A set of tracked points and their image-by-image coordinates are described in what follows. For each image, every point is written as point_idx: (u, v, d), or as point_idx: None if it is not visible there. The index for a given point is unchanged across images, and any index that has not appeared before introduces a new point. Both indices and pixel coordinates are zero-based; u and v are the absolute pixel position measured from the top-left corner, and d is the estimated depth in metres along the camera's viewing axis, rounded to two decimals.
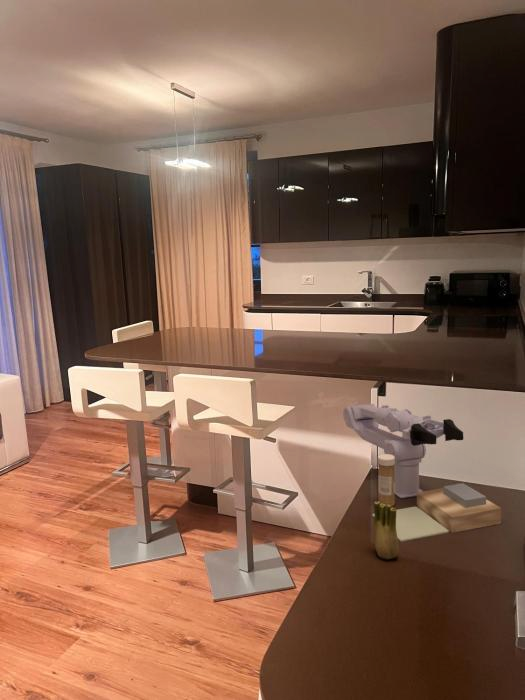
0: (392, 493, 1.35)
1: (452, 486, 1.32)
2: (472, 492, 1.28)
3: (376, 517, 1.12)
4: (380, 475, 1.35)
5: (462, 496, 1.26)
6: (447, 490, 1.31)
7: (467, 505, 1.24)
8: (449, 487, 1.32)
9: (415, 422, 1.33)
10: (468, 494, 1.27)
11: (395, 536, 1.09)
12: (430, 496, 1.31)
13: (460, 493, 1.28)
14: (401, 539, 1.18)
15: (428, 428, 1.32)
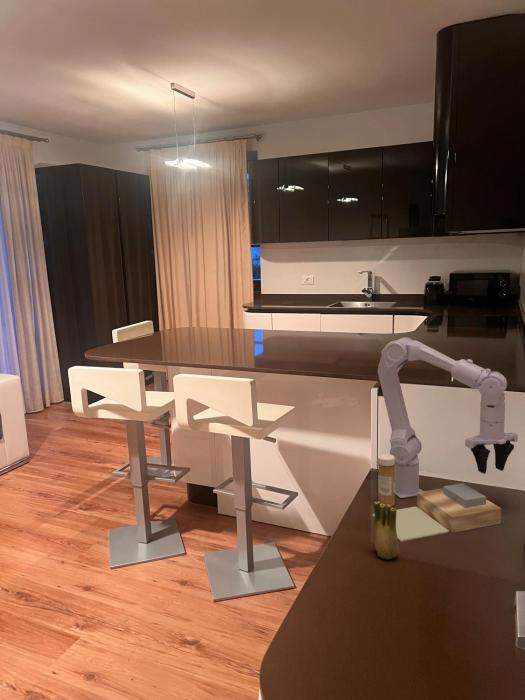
0: (392, 493, 1.35)
1: (452, 486, 1.32)
2: (472, 492, 1.28)
3: (376, 517, 1.12)
4: (380, 475, 1.35)
5: (462, 496, 1.26)
6: (447, 490, 1.31)
7: (467, 505, 1.24)
8: (449, 487, 1.32)
9: (490, 432, 1.27)
10: (468, 494, 1.27)
11: (395, 536, 1.09)
12: (430, 496, 1.31)
13: (460, 493, 1.28)
14: (401, 539, 1.18)
15: None
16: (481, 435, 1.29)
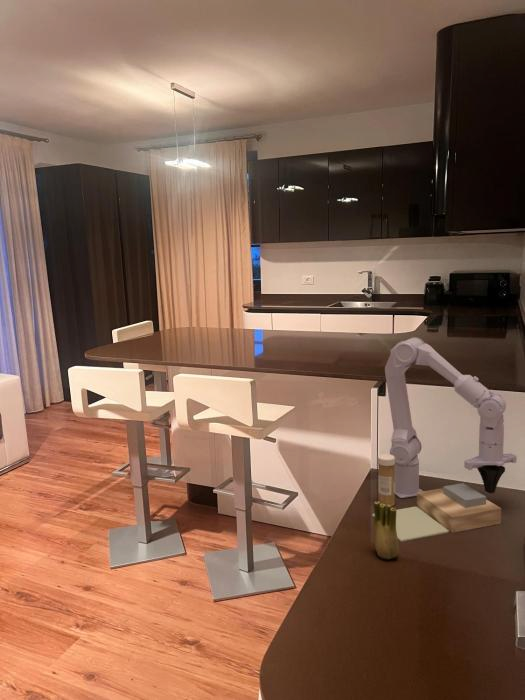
0: (392, 493, 1.35)
1: (452, 486, 1.32)
2: (472, 492, 1.28)
3: (376, 517, 1.12)
4: (380, 475, 1.35)
5: (462, 496, 1.26)
6: (447, 490, 1.31)
7: (467, 505, 1.24)
8: (449, 487, 1.32)
9: (489, 454, 1.28)
10: (468, 494, 1.27)
11: (395, 536, 1.09)
12: (430, 496, 1.31)
13: (460, 493, 1.28)
14: (401, 539, 1.18)
15: None
16: (480, 456, 1.30)
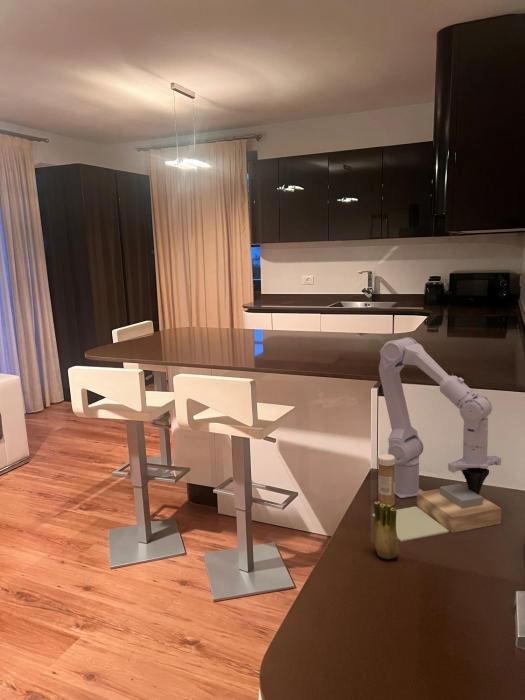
0: (392, 493, 1.35)
1: (449, 487, 1.32)
2: (469, 493, 1.28)
3: (376, 517, 1.12)
4: (380, 475, 1.35)
5: (458, 497, 1.26)
6: (444, 491, 1.31)
7: (464, 506, 1.24)
8: (446, 488, 1.32)
9: (473, 456, 1.26)
10: (465, 495, 1.27)
11: (395, 536, 1.09)
12: (430, 496, 1.31)
13: (456, 494, 1.28)
14: (401, 539, 1.18)
15: None
16: (464, 459, 1.29)
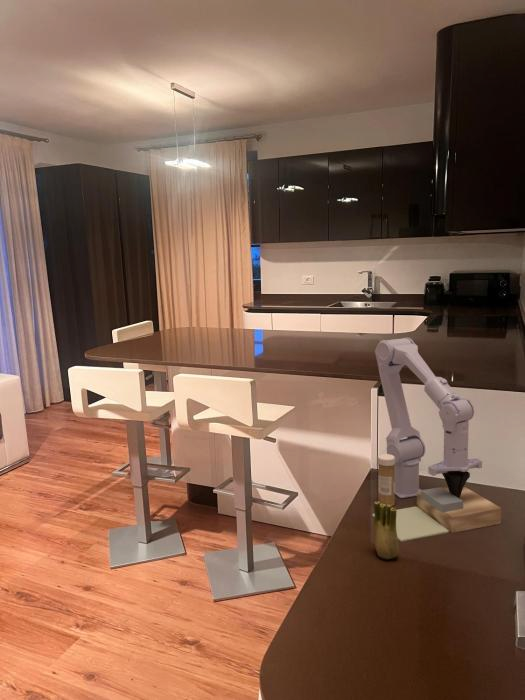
0: (392, 493, 1.35)
1: (430, 490, 1.31)
2: (450, 496, 1.26)
3: (376, 517, 1.12)
4: (380, 475, 1.35)
5: (439, 501, 1.24)
6: (424, 494, 1.29)
7: (444, 510, 1.23)
8: (427, 491, 1.30)
9: (453, 459, 1.25)
10: (445, 498, 1.25)
11: (395, 536, 1.09)
12: None
13: (437, 498, 1.26)
14: (401, 539, 1.18)
15: None
16: (445, 462, 1.27)
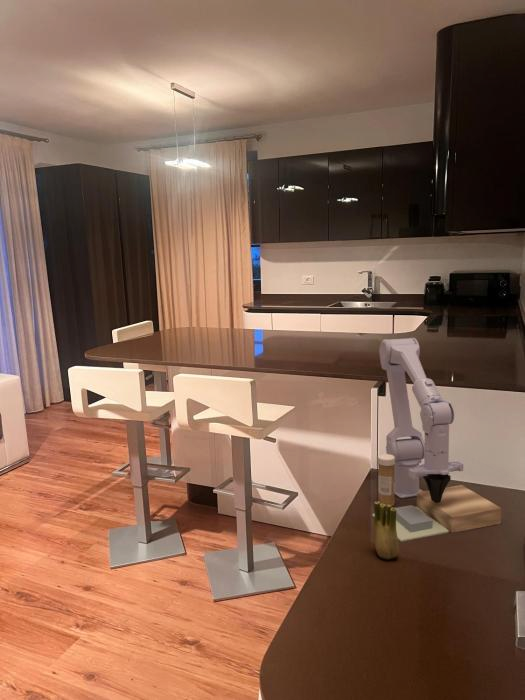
0: (392, 493, 1.35)
1: None
2: None
3: (376, 517, 1.12)
4: (380, 475, 1.35)
5: None
6: None
7: (430, 523, 1.22)
8: None
9: (434, 462, 1.23)
10: None
11: (395, 536, 1.09)
12: (430, 496, 1.31)
13: None
14: (401, 539, 1.18)
15: None
16: (425, 465, 1.25)
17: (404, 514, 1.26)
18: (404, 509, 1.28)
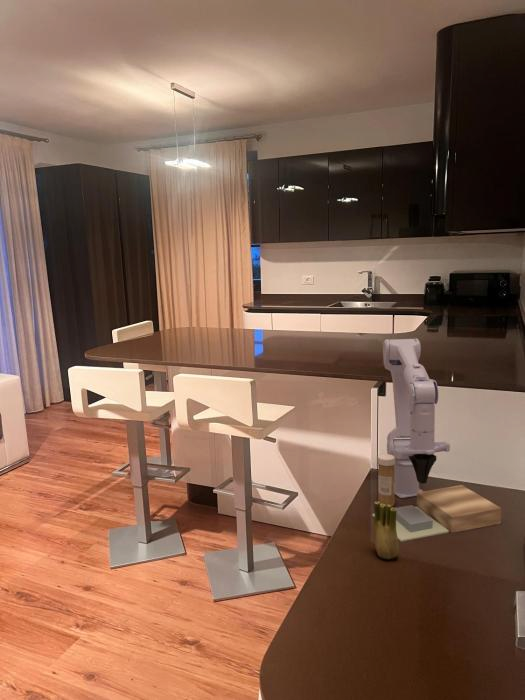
0: (392, 493, 1.35)
1: None
2: None
3: (376, 517, 1.12)
4: (380, 475, 1.35)
5: None
6: None
7: (430, 523, 1.22)
8: None
9: (419, 442, 1.21)
10: None
11: (395, 536, 1.09)
12: (430, 496, 1.31)
13: None
14: (401, 539, 1.18)
15: None
16: (411, 445, 1.24)
17: (404, 514, 1.26)
18: (404, 509, 1.28)
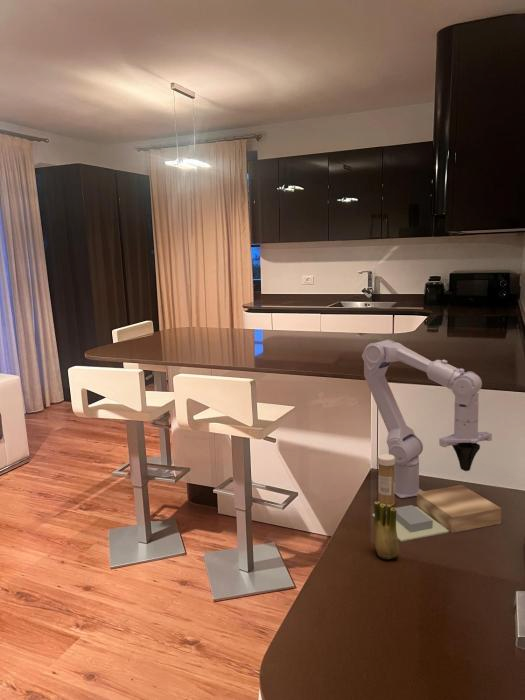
0: (392, 493, 1.35)
1: None
2: None
3: (376, 517, 1.12)
4: (380, 475, 1.35)
5: None
6: None
7: (430, 523, 1.22)
8: None
9: (464, 431, 1.28)
10: None
11: (395, 536, 1.09)
12: (430, 496, 1.31)
13: None
14: (401, 539, 1.18)
15: None
16: (455, 434, 1.30)
17: (404, 514, 1.26)
18: (404, 509, 1.28)
